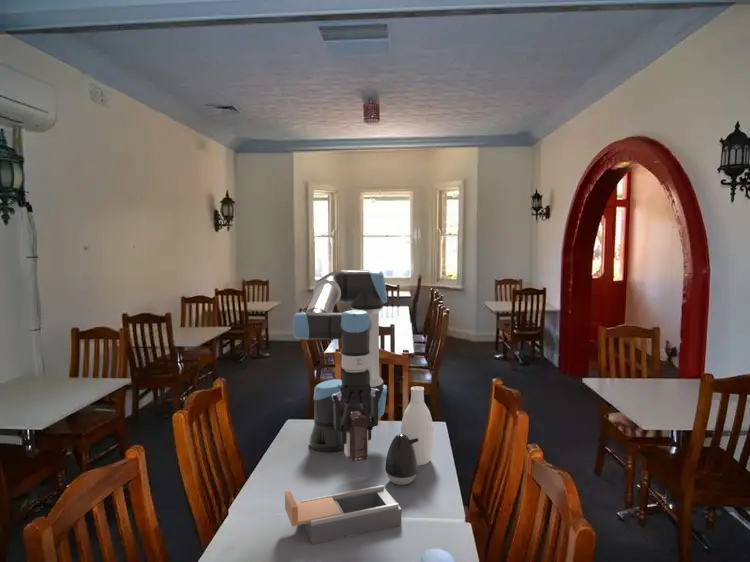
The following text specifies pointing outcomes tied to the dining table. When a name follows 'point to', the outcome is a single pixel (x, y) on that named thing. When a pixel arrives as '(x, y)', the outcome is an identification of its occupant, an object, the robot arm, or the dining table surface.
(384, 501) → the grey sliding-lid case
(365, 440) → the box
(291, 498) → the shutter
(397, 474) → the pump dispenser
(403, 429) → the bottle
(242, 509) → the dining table surface
